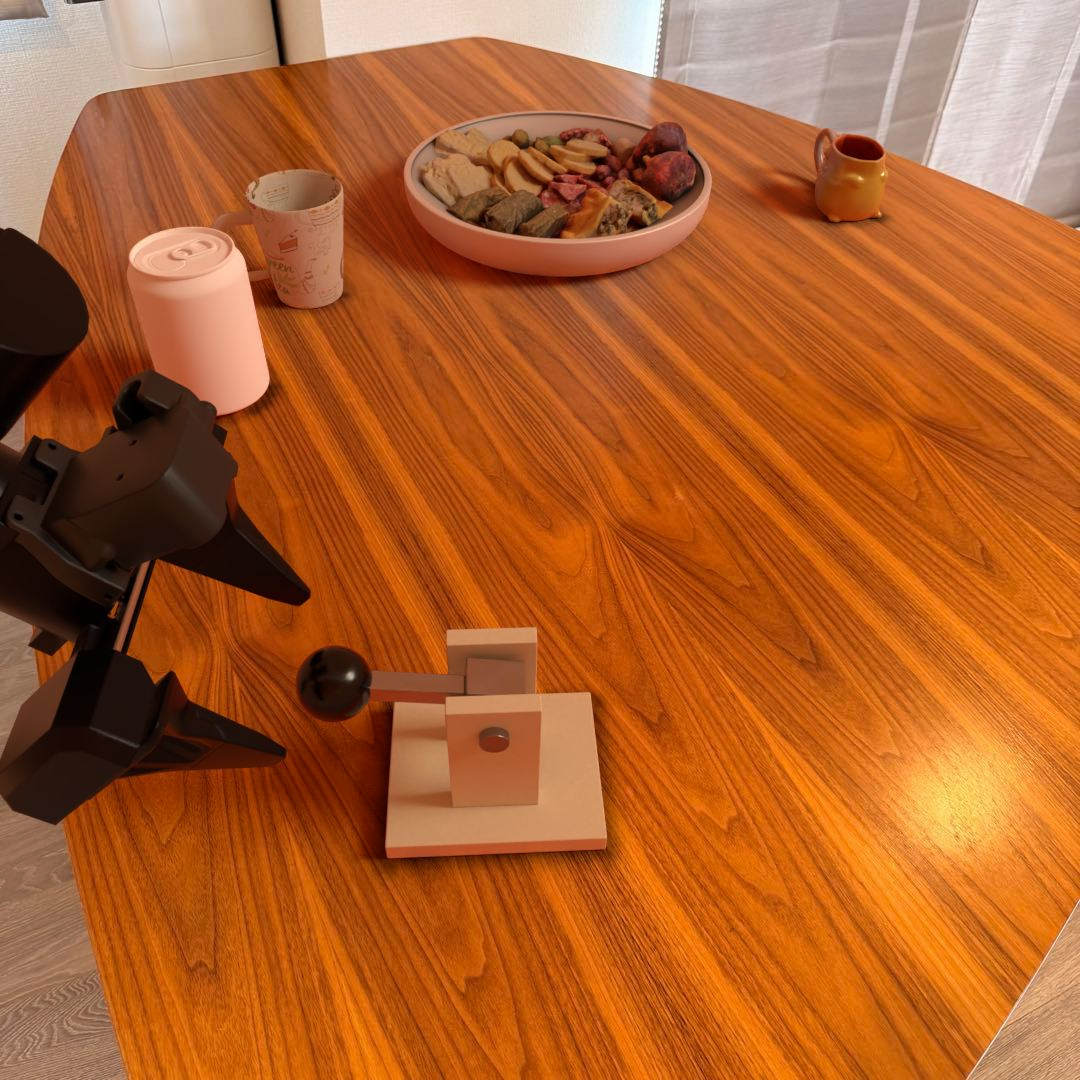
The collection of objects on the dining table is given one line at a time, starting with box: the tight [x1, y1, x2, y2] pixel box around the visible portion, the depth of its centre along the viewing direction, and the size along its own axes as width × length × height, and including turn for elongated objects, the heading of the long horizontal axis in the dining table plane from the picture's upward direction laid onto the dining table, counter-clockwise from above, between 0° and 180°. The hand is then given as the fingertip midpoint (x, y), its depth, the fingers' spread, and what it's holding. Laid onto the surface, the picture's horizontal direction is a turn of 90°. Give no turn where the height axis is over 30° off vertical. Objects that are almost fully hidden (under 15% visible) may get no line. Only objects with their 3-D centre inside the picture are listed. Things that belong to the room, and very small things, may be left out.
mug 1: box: [209, 168, 345, 310], centre depth 83 cm, size 8×12×10 cm, turn 105°
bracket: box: [384, 626, 608, 859], centre depth 49 cm, size 11×9×9 cm
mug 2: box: [813, 127, 889, 223], centre depth 100 cm, size 12×7×7 cm, turn 10°
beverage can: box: [126, 226, 271, 417], centre depth 72 cm, size 8×8×12 cm
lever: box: [294, 644, 526, 724], centre depth 46 cm, size 11×4×4 cm, turn 93°
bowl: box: [403, 109, 713, 278], centre depth 96 cm, size 30×30×8 cm
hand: (294, 673), depth 45 cm, fingers open, 9 cm apart
